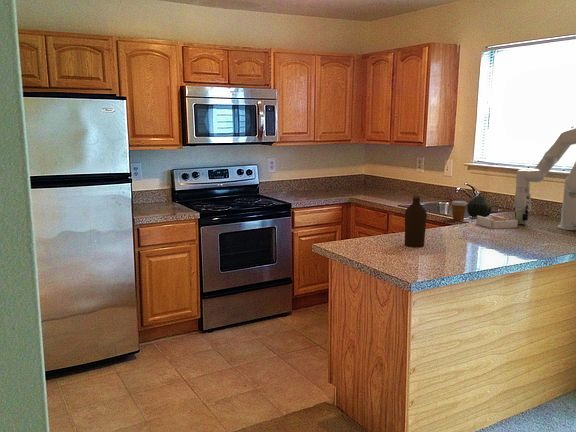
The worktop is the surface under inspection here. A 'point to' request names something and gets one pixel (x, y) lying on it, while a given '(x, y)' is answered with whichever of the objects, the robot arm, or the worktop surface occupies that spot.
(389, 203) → the worktop surface
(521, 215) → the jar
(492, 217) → the pusher plate
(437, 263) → the worktop surface
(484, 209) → the squash
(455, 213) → the disposable coffee cup
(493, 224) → the white open tray
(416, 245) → the olive oil
